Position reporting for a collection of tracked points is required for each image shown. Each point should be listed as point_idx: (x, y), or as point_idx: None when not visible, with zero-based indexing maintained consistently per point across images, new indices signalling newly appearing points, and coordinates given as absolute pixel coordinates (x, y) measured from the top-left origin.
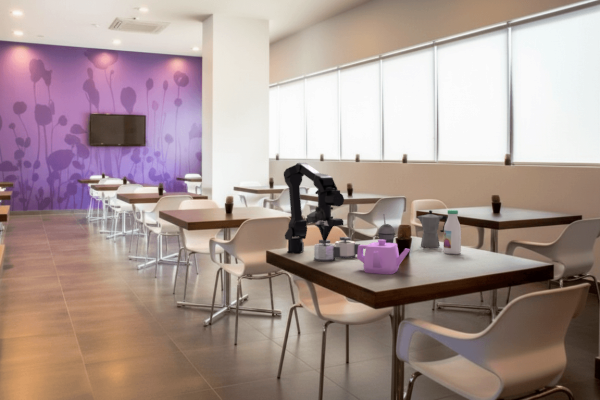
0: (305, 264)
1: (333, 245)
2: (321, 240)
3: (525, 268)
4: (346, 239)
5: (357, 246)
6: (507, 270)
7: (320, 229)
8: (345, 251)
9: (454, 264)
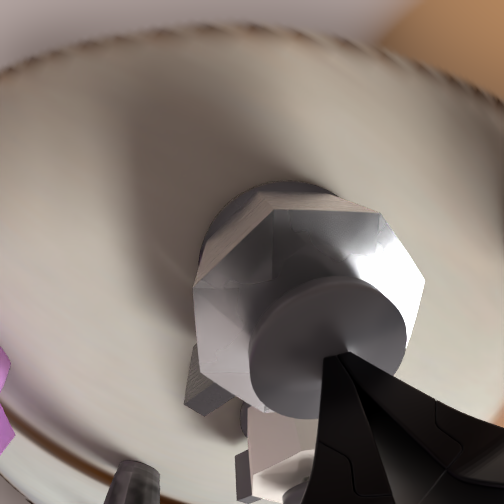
0: (189, 40)
1: (222, 385)
2: (353, 326)
3: (21, 492)
4: (287, 498)
5: (246, 486)
6: (3, 475)
7: (467, 447)
8: (257, 426)
9: (47, 486)
